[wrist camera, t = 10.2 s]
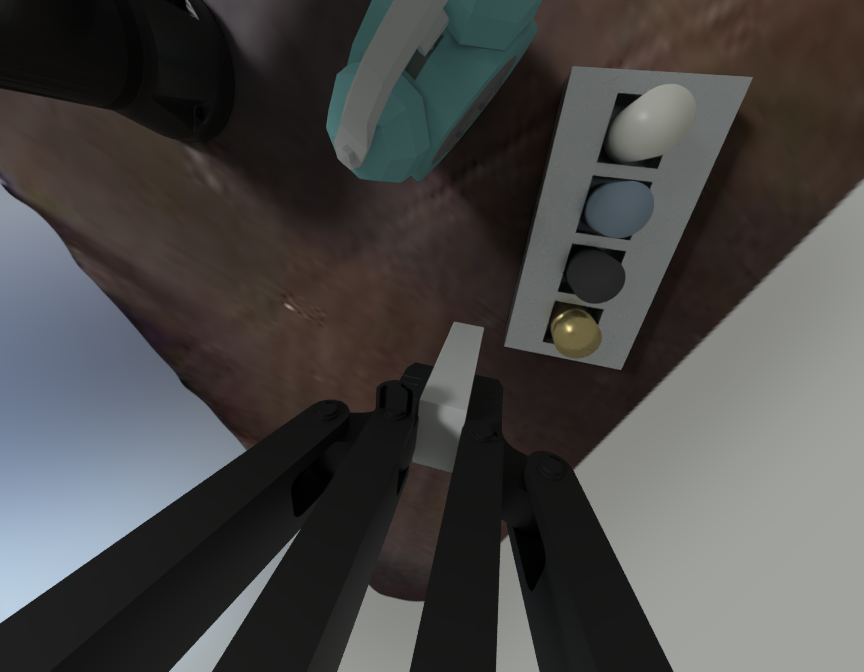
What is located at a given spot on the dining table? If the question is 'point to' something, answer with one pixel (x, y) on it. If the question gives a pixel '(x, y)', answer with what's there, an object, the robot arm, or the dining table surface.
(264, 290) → the dining table surface
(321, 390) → the dining table surface
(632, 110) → the white egg
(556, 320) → the gold rounded cylinder
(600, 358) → the white socket board
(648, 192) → the blue ovoid
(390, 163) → the alarm clock
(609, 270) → the black rounded cylinder
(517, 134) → the dining table surface
